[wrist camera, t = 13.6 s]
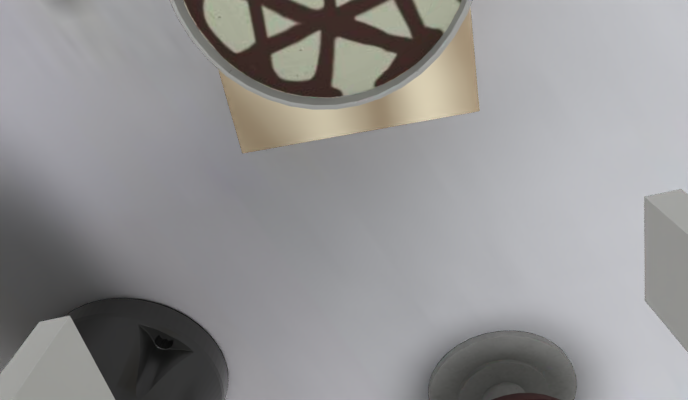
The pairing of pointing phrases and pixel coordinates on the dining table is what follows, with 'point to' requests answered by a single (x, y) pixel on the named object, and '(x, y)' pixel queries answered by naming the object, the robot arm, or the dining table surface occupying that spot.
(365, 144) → the dining table surface
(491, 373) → the mate gourd
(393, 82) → the food container
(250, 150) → the birch platform
